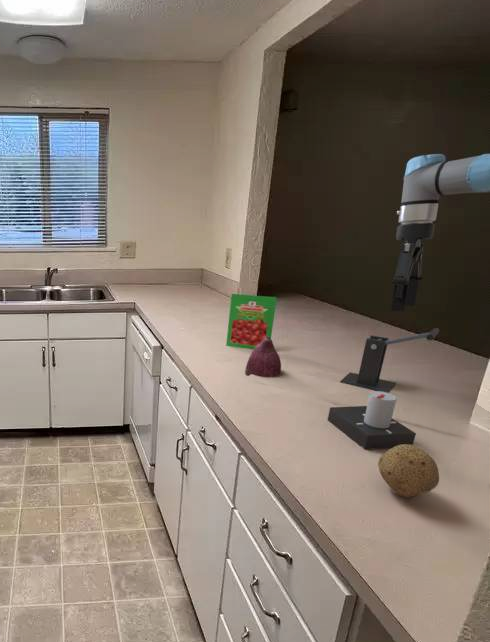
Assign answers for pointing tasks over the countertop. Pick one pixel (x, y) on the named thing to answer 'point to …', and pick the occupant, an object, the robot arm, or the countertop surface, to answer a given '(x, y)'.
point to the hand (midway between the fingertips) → (403, 308)
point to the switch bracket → (371, 367)
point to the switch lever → (414, 337)
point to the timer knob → (380, 409)
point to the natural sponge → (408, 470)
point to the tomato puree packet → (250, 320)
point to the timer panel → (369, 429)
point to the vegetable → (264, 360)
